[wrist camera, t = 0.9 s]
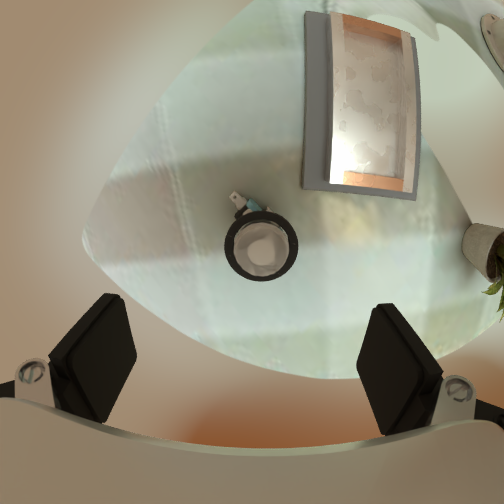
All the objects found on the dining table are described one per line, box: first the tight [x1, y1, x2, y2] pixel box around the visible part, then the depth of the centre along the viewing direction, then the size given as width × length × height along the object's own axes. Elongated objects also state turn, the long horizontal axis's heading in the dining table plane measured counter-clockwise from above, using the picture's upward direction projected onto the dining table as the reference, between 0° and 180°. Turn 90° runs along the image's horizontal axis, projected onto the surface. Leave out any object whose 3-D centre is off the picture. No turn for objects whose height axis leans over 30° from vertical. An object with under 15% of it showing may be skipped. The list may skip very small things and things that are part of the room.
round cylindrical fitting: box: [224, 191, 298, 281], centre depth 23 cm, size 7×5×10 cm
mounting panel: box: [302, 11, 421, 201], centre depth 23 cm, size 13×20×1 cm, turn 178°
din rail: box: [325, 12, 416, 193], centre depth 21 cm, size 9×18×2 cm, turn 178°
